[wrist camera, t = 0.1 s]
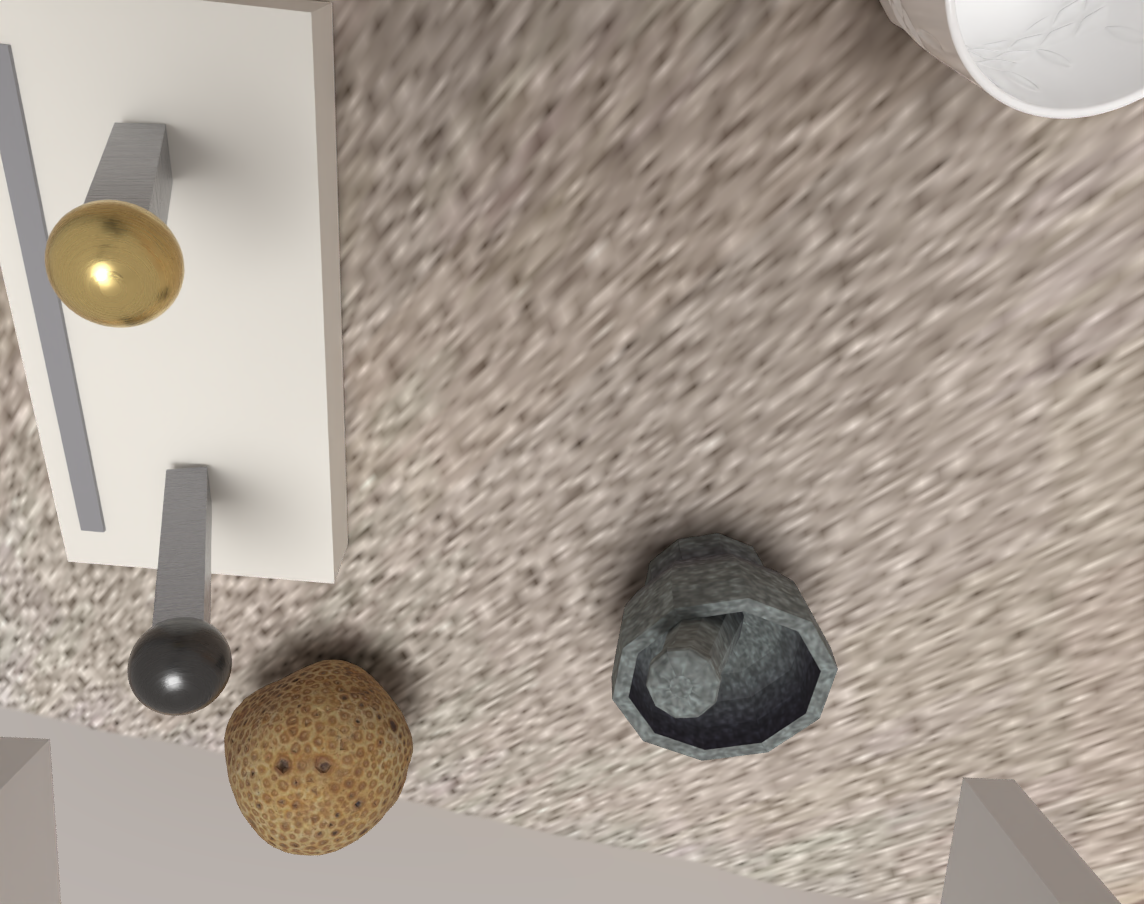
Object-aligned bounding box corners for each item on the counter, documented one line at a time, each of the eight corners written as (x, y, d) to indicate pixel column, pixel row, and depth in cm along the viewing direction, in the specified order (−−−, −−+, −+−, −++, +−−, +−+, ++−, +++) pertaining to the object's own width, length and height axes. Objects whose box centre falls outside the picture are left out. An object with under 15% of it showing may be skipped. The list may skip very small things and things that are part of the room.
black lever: (226, 452, 39) (227, 656, 29) (232, 514, 41) (236, 727, 31) (143, 458, 38) (116, 672, 28) (153, 522, 40) (131, 744, 30)
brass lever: (188, 106, 32) (174, 224, 22) (198, 199, 34) (189, 346, 24) (85, 103, 31) (21, 223, 21) (100, 198, 33) (48, 351, 23)
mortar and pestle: (829, 615, 48) (898, 815, 37) (664, 679, 50) (686, 884, 40) (740, 450, 42) (791, 630, 32) (561, 530, 45) (556, 721, 35)
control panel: (332, 2, 33) (309, 12, 30) (348, 544, 45) (333, 586, 43) (-16, -37, 32) (-71, -29, 30) (97, 522, 45) (66, 564, 42)
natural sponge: (459, 707, 51) (435, 871, 43) (325, 756, 53) (277, 922, 45) (368, 592, 47) (321, 749, 38) (226, 651, 49) (152, 812, 41)
